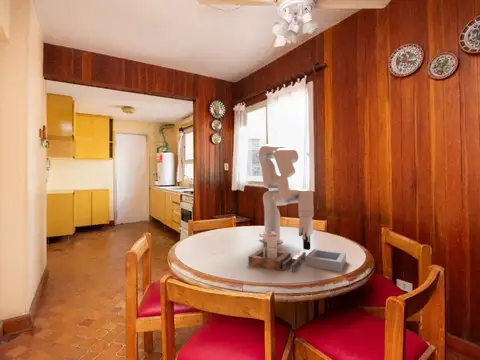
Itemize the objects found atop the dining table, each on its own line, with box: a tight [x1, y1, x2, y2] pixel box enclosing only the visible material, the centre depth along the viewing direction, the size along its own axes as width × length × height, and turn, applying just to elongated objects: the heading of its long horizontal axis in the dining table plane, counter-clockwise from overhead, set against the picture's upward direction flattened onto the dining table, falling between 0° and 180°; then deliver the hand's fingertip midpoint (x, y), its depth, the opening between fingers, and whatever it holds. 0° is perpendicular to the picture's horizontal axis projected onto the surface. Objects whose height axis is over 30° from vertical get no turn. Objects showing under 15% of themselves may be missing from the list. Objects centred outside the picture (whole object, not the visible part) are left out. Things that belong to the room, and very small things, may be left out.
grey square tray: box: [305, 248, 347, 272], centre depth 120 cm, size 15×15×4 cm
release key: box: [292, 250, 307, 264], centre depth 124 cm, size 3×13×3 cm, turn 149°
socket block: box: [247, 248, 302, 273], centre depth 120 cm, size 21×15×4 cm
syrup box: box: [262, 230, 278, 259], centre depth 122 cm, size 6×6×14 cm
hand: (306, 249), depth 133 cm, fingers closed
